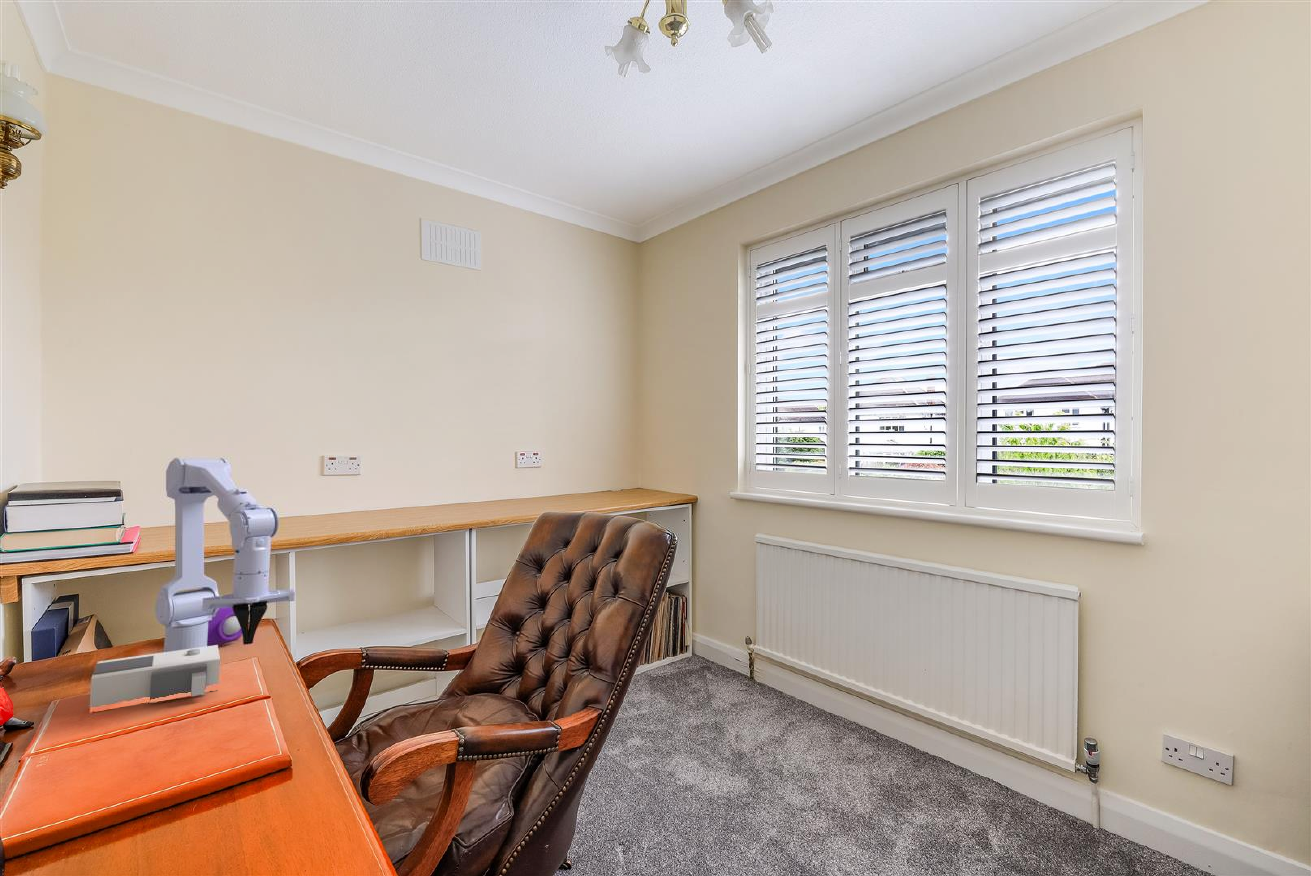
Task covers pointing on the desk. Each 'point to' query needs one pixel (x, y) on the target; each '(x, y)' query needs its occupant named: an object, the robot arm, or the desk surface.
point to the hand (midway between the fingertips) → (247, 642)
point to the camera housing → (146, 673)
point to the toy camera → (223, 627)
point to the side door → (179, 681)
